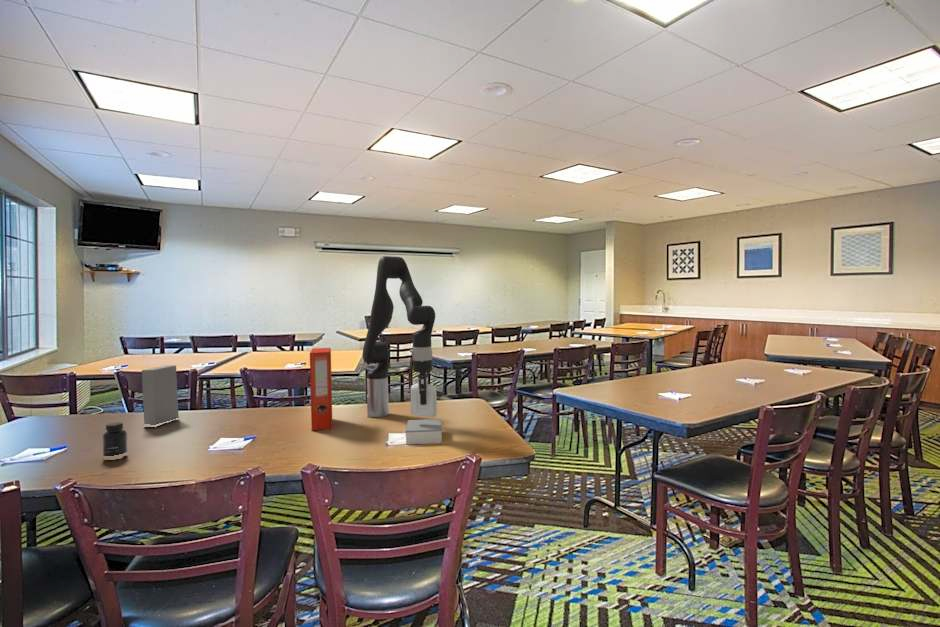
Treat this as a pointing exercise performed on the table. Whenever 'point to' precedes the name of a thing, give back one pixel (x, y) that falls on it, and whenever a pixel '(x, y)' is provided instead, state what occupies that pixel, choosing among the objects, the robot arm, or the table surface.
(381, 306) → the robot arm
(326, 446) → the table surface
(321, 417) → the file binder
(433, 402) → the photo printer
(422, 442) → the plinth
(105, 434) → the supplement bottle
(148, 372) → the grey upright panel
